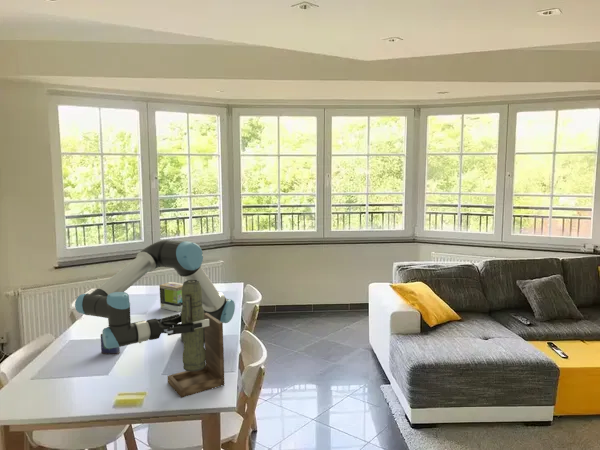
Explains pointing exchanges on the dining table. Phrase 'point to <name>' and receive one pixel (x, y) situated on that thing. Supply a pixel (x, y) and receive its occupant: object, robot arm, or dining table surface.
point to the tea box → (171, 296)
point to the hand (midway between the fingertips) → (203, 318)
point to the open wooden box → (214, 368)
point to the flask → (110, 350)
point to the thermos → (194, 340)
